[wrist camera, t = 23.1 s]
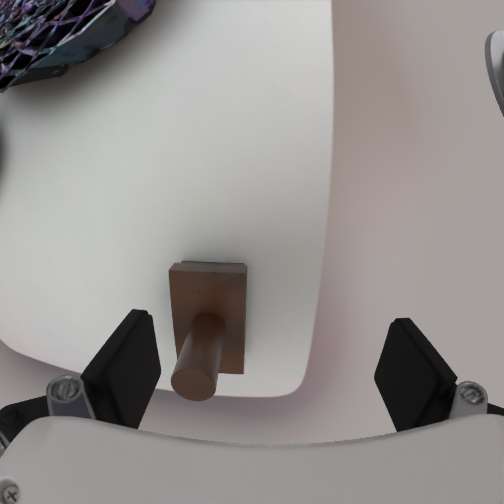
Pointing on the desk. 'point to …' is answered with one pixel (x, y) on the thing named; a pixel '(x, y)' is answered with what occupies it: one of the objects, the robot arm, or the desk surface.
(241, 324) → the stamp
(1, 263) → the desk surface
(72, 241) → the desk surface
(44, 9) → the decorative bowl
